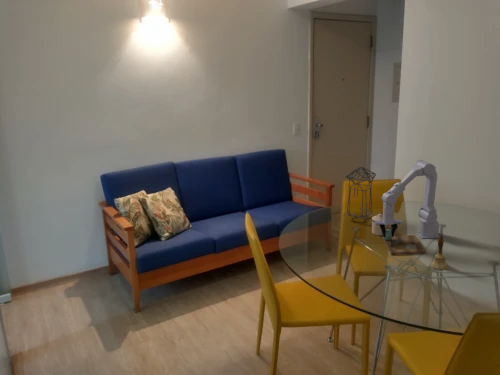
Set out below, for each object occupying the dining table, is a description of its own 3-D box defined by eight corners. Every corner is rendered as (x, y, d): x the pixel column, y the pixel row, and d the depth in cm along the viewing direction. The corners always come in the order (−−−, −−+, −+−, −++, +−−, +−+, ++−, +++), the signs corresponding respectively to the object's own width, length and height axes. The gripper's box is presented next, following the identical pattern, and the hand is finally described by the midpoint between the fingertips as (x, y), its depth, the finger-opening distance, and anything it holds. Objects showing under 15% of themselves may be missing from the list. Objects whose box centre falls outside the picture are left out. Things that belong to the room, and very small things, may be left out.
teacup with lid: (384, 237, 247) (384, 218, 244) (369, 234, 253) (369, 215, 249) (391, 229, 256) (392, 211, 253) (376, 226, 262) (377, 208, 258)
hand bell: (427, 262, 216) (428, 233, 211) (443, 260, 216) (445, 231, 212) (435, 270, 208) (437, 240, 203) (451, 268, 209) (454, 238, 204)
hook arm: (400, 248, 233) (400, 238, 231) (400, 249, 232) (401, 239, 230) (390, 248, 233) (390, 238, 232) (391, 249, 232) (391, 239, 230)
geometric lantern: (352, 213, 285) (353, 162, 274) (375, 217, 276) (377, 165, 265) (342, 221, 273) (343, 168, 262) (366, 226, 264) (368, 171, 253)
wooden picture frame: (415, 237, 244) (415, 235, 243) (426, 253, 225) (426, 251, 224) (382, 238, 245) (382, 236, 245) (391, 255, 226) (391, 252, 226)
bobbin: (390, 237, 242) (390, 229, 241) (392, 240, 239) (392, 232, 237) (383, 237, 243) (383, 229, 241) (385, 240, 239) (385, 232, 237)
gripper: (400, 210, 239) (399, 232, 243) (373, 212, 240) (373, 234, 245) (403, 215, 233) (402, 238, 237) (376, 216, 234) (376, 239, 238)
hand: (388, 236), depth 240 cm, fingers closed on bobbin, 4 cm apart
